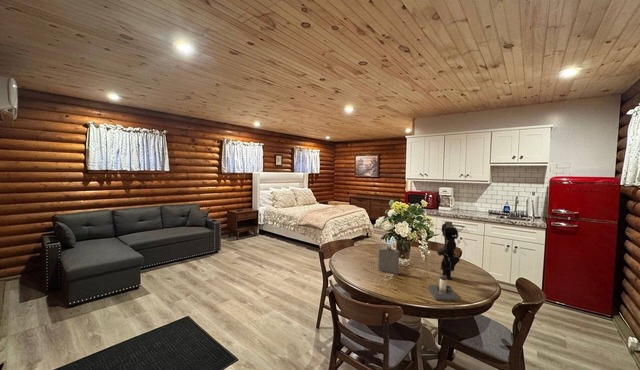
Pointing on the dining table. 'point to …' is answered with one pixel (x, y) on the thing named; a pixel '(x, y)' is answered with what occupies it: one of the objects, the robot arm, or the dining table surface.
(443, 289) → the plug
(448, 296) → the gray rectangular frame
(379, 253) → the hip flask
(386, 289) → the dining table surface
